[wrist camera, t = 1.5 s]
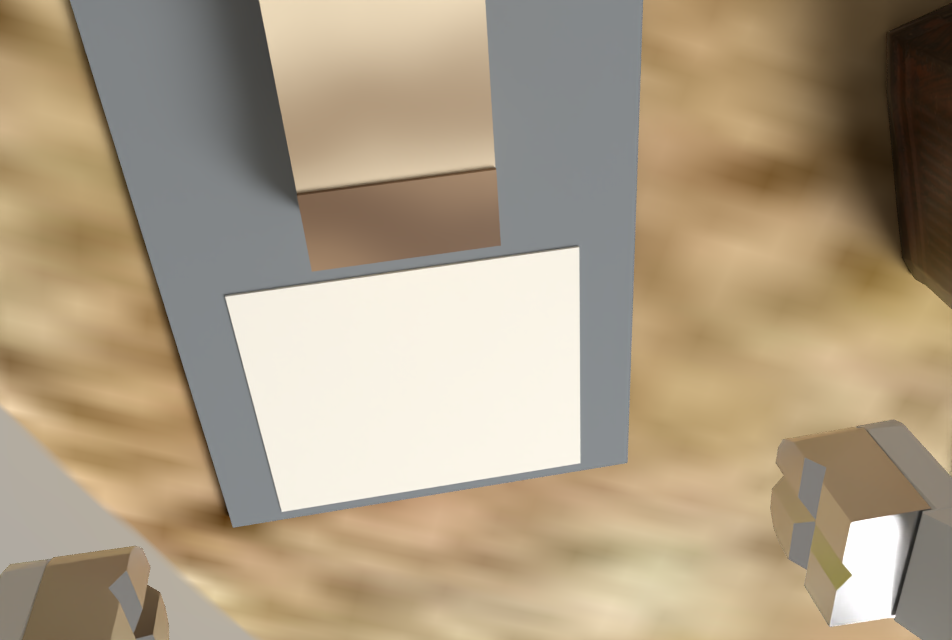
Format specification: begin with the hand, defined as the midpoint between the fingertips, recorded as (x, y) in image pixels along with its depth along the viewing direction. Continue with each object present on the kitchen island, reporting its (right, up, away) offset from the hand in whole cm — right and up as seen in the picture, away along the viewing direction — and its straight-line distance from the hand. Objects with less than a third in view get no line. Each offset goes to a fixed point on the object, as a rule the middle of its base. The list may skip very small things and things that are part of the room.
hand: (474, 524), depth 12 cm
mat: (-3, +5, +19) cm, 20 cm away
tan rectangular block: (-3, +10, +15) cm, 18 cm away
